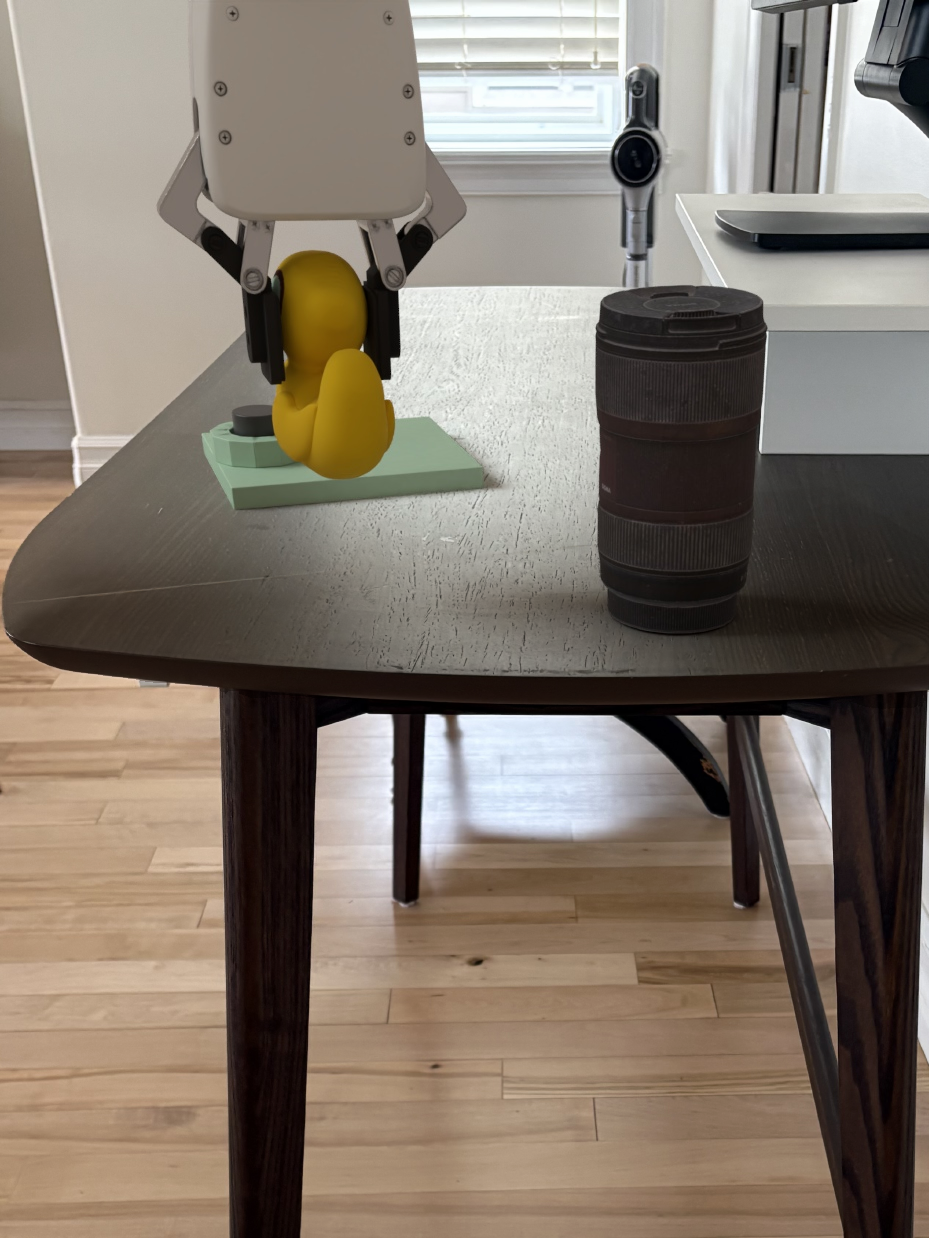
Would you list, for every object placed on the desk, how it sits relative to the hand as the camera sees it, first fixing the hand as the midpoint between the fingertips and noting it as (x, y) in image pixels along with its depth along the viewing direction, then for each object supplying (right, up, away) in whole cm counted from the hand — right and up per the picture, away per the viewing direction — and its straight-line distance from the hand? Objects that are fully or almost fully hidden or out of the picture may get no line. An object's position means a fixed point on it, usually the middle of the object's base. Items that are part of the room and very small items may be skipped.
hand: (325, 372), depth 75 cm
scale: (-4, +5, +26) cm, 27 cm away
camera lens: (+17, -11, +5) cm, 21 cm away
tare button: (-8, +6, +23) cm, 25 cm away
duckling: (0, -4, +3) cm, 5 cm away
